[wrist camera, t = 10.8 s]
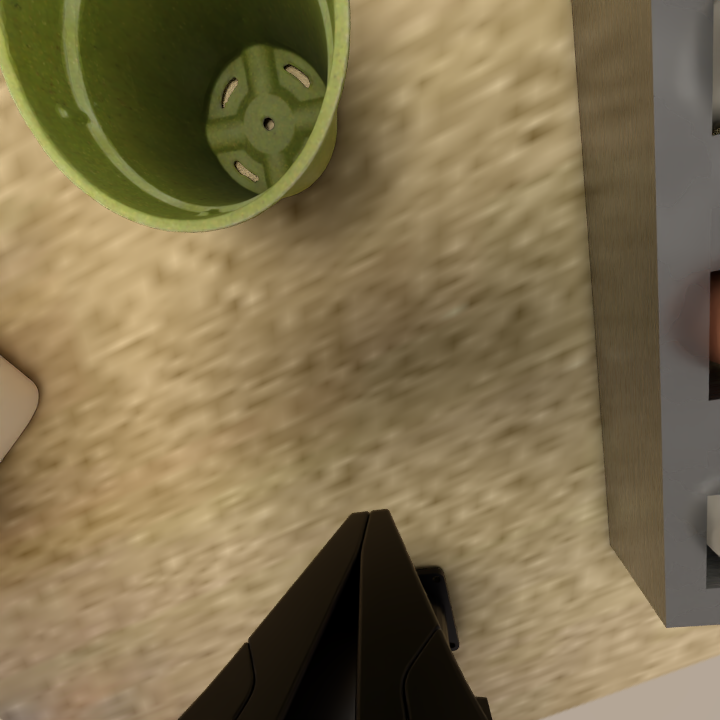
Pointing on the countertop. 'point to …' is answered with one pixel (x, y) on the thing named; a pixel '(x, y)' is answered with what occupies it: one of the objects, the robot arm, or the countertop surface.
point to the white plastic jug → (14, 404)
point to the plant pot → (179, 100)
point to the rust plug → (714, 317)
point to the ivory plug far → (713, 523)
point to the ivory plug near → (716, 67)
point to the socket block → (654, 286)
